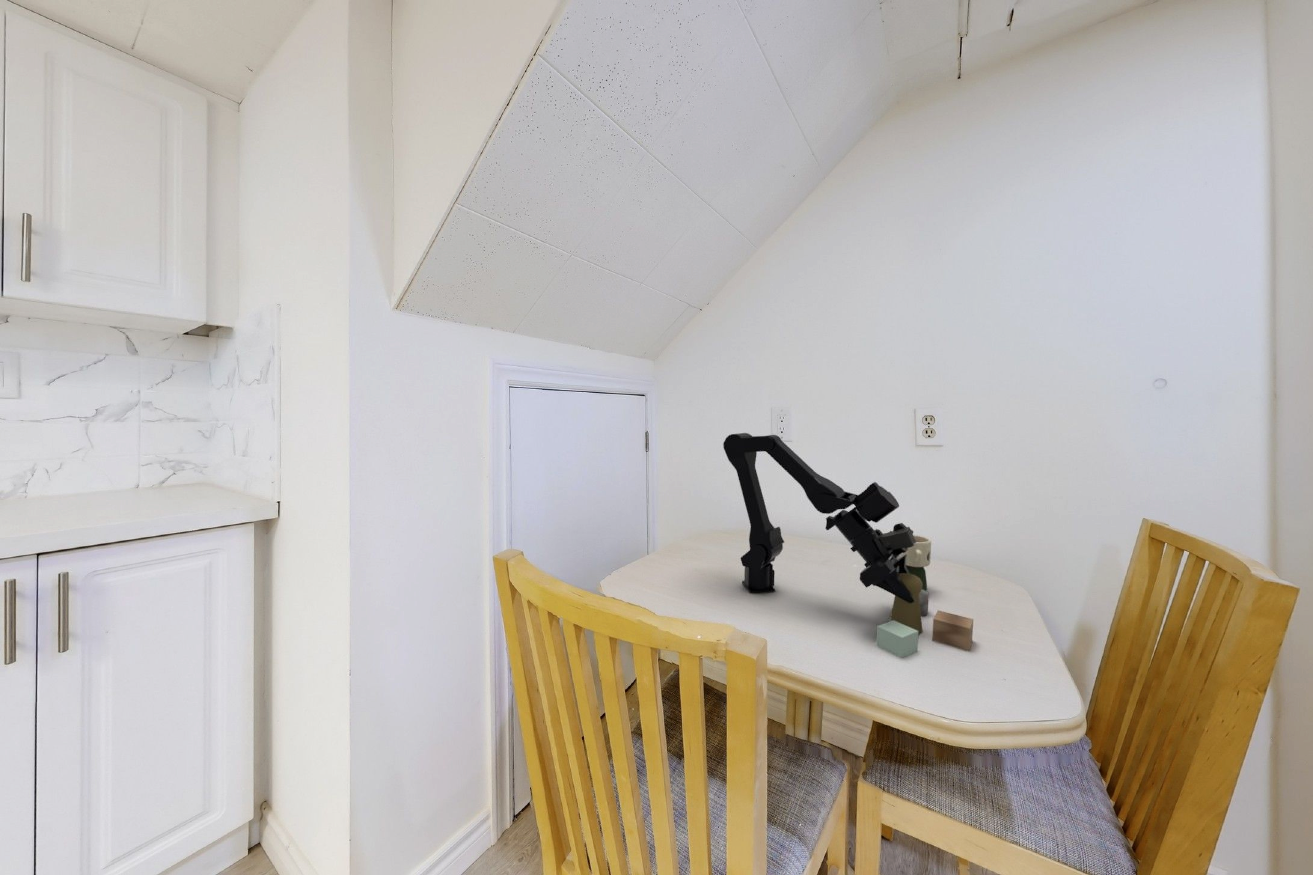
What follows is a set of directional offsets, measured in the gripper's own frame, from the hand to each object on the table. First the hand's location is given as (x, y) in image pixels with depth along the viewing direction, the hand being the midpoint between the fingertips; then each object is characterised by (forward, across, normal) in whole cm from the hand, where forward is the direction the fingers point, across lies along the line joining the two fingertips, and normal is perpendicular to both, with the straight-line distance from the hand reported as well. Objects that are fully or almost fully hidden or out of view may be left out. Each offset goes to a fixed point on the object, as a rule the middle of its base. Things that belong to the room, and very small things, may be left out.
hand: (914, 597), depth 94 cm
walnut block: (+10, 0, 0) cm, 10 cm away
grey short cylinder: (+4, +10, +6) cm, 12 cm away
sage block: (+4, -10, +6) cm, 12 cm away
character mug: (+2, +23, +8) cm, 25 cm away
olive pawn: (+4, 0, +6) cm, 7 cm away
